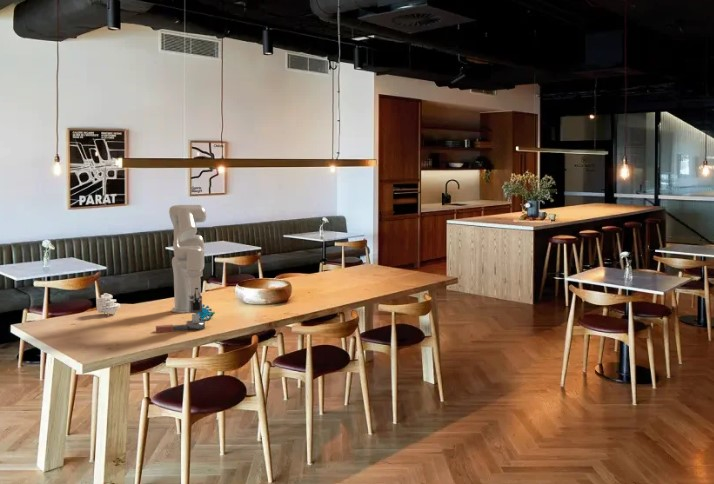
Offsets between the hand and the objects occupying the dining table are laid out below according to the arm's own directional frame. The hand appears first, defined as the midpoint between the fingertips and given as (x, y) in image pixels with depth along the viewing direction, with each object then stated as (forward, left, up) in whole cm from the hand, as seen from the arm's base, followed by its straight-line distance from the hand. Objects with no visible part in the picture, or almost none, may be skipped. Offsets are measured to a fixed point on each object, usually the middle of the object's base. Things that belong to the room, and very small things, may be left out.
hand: (195, 308), depth 321 cm
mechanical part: (-47, -39, -10) cm, 62 cm away
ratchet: (0, -7, -10) cm, 13 cm away
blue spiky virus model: (-18, +7, -11) cm, 22 cm away
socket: (0, 0, -2) cm, 2 cm away
